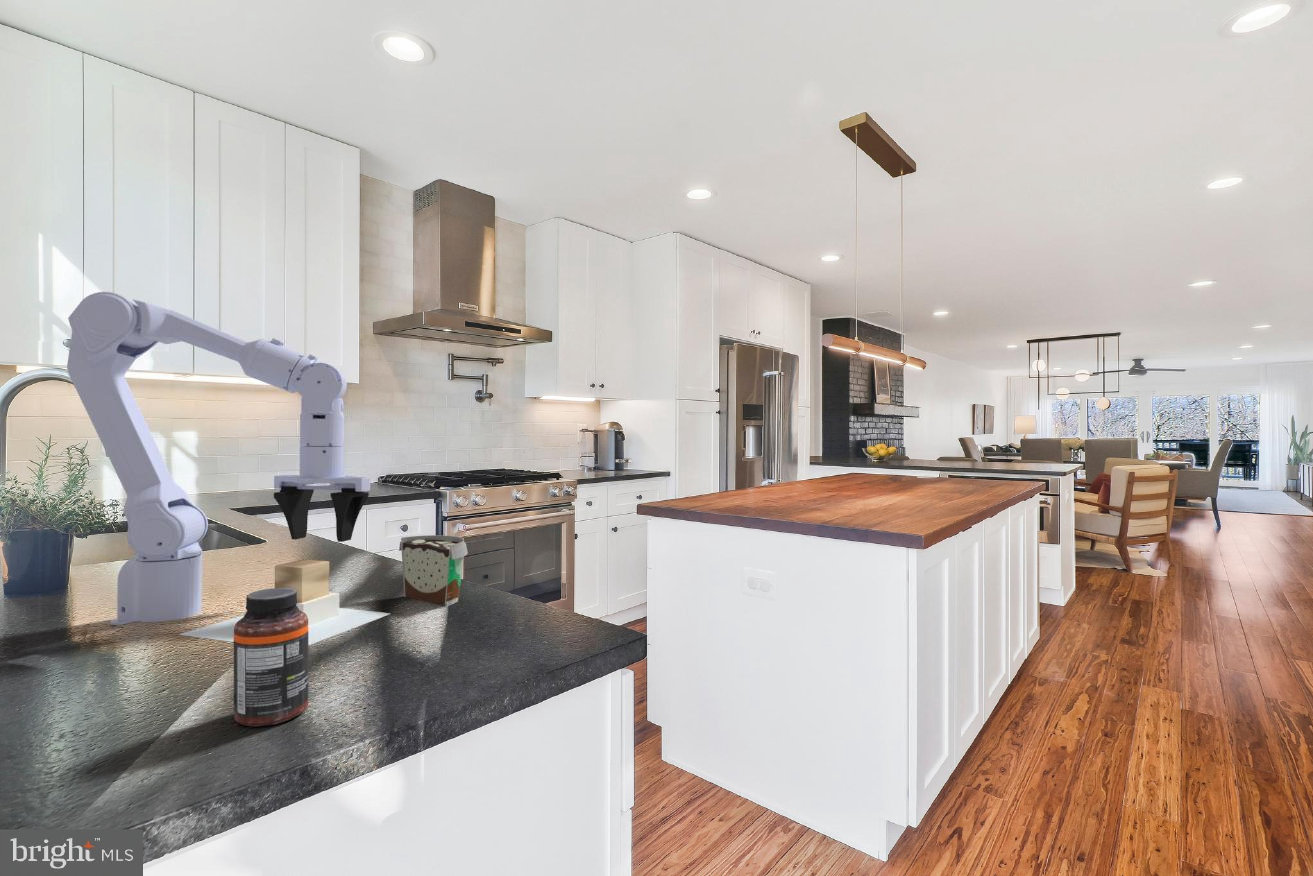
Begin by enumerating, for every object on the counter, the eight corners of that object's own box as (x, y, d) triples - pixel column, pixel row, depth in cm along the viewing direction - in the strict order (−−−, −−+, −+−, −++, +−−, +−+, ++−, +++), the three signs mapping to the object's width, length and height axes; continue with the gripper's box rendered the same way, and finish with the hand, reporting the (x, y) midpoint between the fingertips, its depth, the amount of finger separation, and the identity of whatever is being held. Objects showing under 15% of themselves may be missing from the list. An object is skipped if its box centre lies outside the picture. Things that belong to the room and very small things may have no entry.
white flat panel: (178, 642, 78) (178, 634, 78) (288, 609, 94) (288, 602, 94) (294, 659, 73) (294, 650, 73) (390, 620, 88) (390, 613, 88)
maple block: (274, 599, 83) (274, 565, 83) (302, 591, 88) (302, 559, 88) (301, 602, 82) (302, 568, 82) (329, 594, 86) (329, 561, 86)
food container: (484, 605, 97) (485, 539, 97) (452, 614, 92) (452, 545, 92) (431, 593, 104) (432, 532, 103) (398, 602, 98) (399, 537, 98)
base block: (266, 623, 83) (266, 600, 83) (304, 611, 89) (304, 589, 89) (303, 627, 81) (303, 604, 81) (339, 615, 87) (339, 593, 87)
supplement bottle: (255, 702, 61) (256, 584, 61) (319, 700, 62) (320, 584, 62) (218, 730, 55) (219, 600, 55) (289, 728, 56) (290, 600, 56)
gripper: (257, 446, 90) (256, 541, 90) (347, 447, 87) (346, 546, 87) (295, 445, 97) (294, 534, 97) (379, 446, 94) (378, 538, 94)
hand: (321, 539), depth 93 cm, fingers open, 7 cm apart
